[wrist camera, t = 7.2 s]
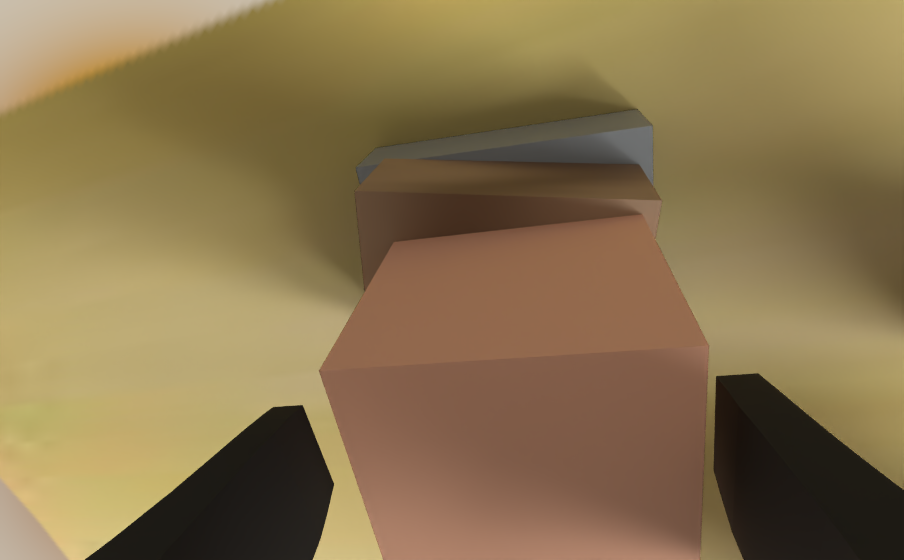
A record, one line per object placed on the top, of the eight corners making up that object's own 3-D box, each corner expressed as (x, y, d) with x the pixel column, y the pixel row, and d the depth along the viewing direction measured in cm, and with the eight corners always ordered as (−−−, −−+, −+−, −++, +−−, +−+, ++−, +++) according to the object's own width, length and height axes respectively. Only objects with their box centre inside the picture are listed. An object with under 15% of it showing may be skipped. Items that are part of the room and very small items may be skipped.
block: (642, 213, 10) (708, 345, 6) (646, 416, 13) (698, 607, 9) (394, 241, 11) (318, 370, 7) (437, 425, 14) (397, 600, 10)
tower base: (634, 105, 14) (652, 125, 12) (639, 330, 17) (654, 379, 15) (380, 143, 16) (355, 167, 13) (427, 345, 19) (412, 392, 16)
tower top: (639, 164, 12) (662, 200, 10) (607, 375, 15) (620, 438, 13) (384, 158, 13) (354, 190, 11) (398, 360, 16) (377, 418, 14)
